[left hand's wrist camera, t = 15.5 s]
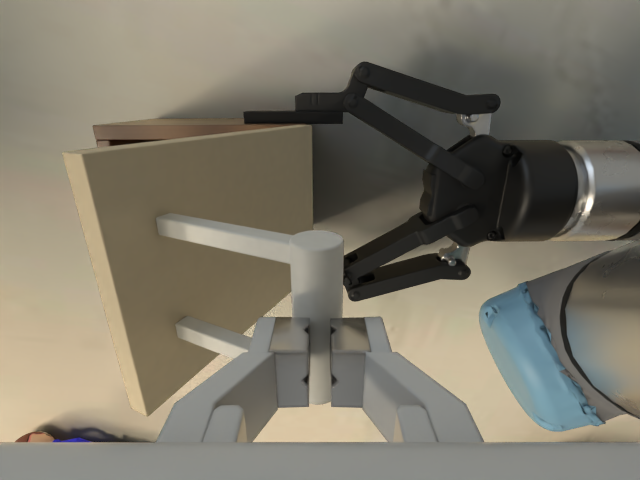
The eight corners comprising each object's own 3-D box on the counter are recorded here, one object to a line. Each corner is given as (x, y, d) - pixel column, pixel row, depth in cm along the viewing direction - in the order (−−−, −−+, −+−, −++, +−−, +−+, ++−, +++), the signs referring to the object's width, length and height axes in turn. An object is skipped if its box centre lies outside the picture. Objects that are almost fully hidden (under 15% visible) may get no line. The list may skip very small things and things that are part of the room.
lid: (130, 408, 14) (306, 505, 11) (60, 151, 10) (297, 175, 7) (301, 269, 26) (412, 294, 22) (298, 124, 22) (430, 128, 19)
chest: (172, 227, 34) (125, 268, 26) (154, 118, 31) (91, 125, 22) (309, 225, 35) (308, 267, 26) (308, 117, 31) (305, 124, 22)
